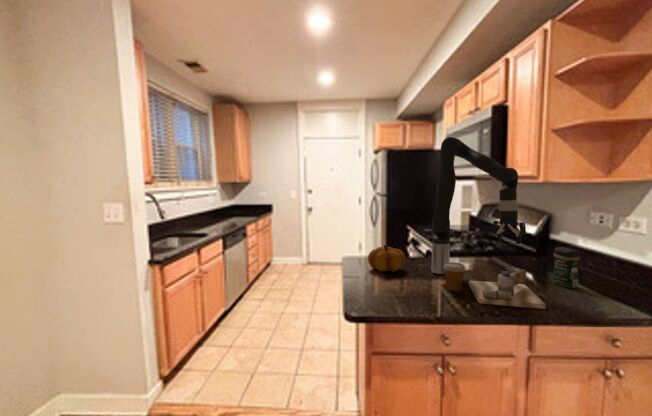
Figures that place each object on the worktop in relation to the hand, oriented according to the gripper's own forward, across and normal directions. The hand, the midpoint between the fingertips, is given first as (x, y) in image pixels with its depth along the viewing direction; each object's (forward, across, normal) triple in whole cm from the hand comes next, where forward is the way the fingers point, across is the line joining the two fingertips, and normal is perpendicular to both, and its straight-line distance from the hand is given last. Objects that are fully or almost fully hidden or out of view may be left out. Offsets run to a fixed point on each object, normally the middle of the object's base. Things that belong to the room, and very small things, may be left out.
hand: (509, 242), depth 142 cm
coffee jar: (+23, +13, +22) cm, 35 cm away
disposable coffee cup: (+20, -11, -27) cm, 35 cm away
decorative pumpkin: (+19, -53, -33) cm, 65 cm away
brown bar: (+19, +8, -11) cm, 23 cm away
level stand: (+21, +5, -15) cm, 26 cm away
